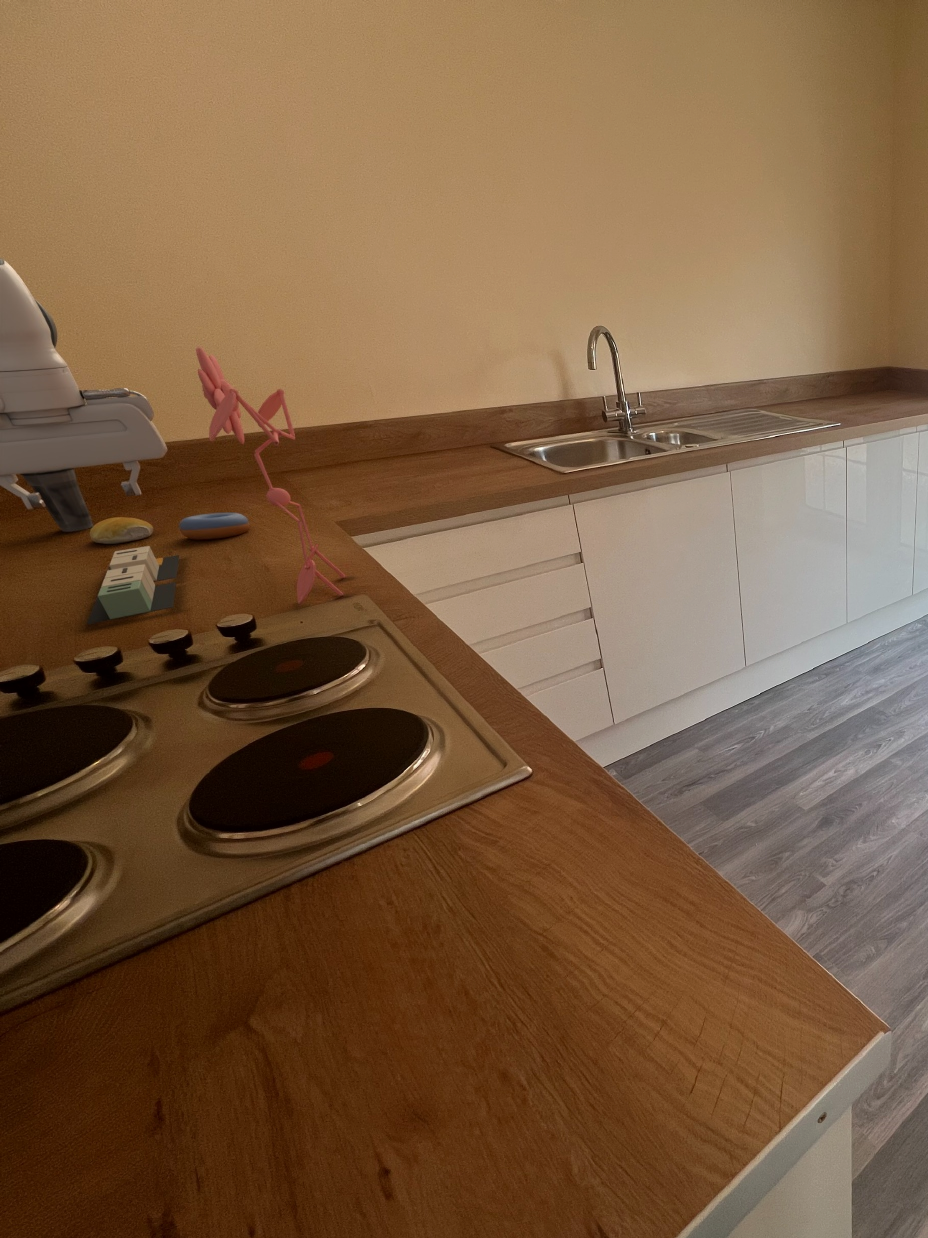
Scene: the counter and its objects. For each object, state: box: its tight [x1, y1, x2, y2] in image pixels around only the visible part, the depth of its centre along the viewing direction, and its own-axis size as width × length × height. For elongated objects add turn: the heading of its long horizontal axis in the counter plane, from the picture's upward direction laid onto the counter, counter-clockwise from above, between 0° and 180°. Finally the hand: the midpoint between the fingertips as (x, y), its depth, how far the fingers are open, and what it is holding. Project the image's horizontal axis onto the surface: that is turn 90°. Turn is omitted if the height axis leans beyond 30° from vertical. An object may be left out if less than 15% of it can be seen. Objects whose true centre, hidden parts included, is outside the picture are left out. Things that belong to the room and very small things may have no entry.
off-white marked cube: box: [112, 545, 159, 573], centre depth 113 cm, size 4×4×4 cm
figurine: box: [195, 346, 353, 604], centre depth 98 cm, size 15×26×35 cm, turn 32°
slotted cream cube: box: [108, 553, 158, 582], centre depth 110 cm, size 4×4×4 cm
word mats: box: [85, 554, 180, 625], centre depth 109 cm, size 9×31×1 cm, turn 40°
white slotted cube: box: [104, 564, 156, 593], centre depth 105 cm, size 4×4×4 cm
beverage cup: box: [20, 468, 94, 533], centre depth 135 cm, size 7×7×20 cm
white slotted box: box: [100, 572, 154, 602], centre depth 102 cm, size 4×4×4 cm
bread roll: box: [89, 516, 154, 545], centre depth 132 cm, size 8×9×4 cm
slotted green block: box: [97, 581, 152, 620], centre depth 99 cm, size 4×4×4 cm
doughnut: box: [178, 512, 250, 541], centre depth 132 cm, size 10×10×5 cm
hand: (87, 501), depth 94 cm, fingers open, 8 cm apart
